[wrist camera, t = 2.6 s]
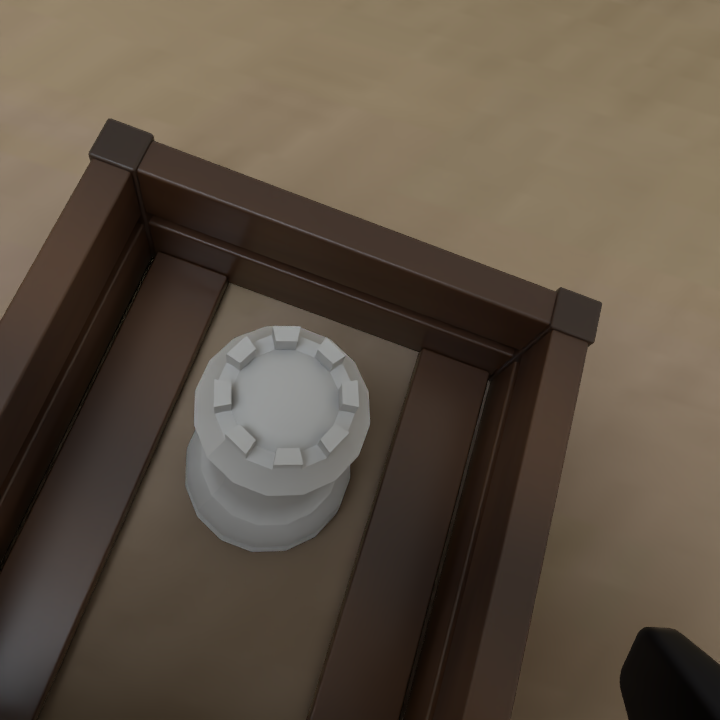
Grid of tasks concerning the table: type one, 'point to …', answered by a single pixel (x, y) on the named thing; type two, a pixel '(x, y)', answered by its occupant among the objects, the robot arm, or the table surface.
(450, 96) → the table surface
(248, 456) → the rook chess piece
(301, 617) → the table surface
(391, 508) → the crate
